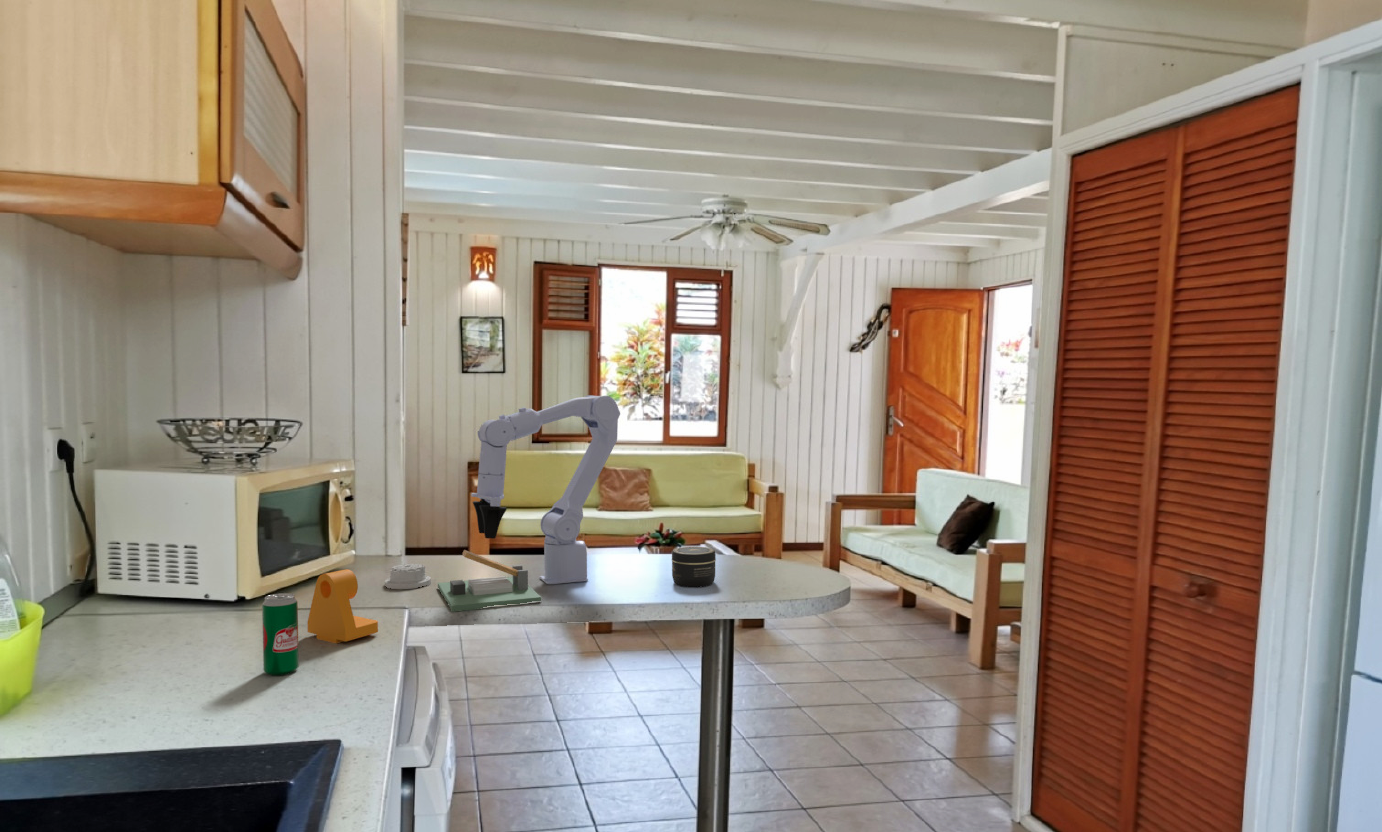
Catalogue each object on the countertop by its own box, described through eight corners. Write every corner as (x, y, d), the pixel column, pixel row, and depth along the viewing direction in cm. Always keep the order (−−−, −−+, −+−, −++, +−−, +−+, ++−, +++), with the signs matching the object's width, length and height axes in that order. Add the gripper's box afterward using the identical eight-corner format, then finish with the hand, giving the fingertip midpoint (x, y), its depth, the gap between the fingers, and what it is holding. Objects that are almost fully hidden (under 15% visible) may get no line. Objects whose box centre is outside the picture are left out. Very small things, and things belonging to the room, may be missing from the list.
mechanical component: (378, 590, 196) (423, 590, 196) (377, 571, 196) (422, 571, 196) (393, 580, 206) (436, 580, 206) (393, 561, 206) (436, 561, 206)
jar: (664, 581, 204) (664, 548, 204) (702, 577, 208) (702, 544, 208) (683, 590, 195) (683, 555, 195) (723, 585, 200) (723, 551, 199)
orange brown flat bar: (519, 576, 195) (522, 570, 195) (523, 580, 192) (526, 574, 192) (461, 555, 190) (464, 548, 190) (464, 558, 187) (467, 552, 187)
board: (518, 581, 204) (518, 558, 204) (541, 602, 184) (540, 577, 184) (437, 588, 197) (437, 564, 197) (451, 611, 177) (451, 585, 177)
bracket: (380, 636, 161) (379, 570, 160) (345, 646, 154) (344, 577, 154) (342, 627, 166) (341, 563, 166) (307, 636, 160) (306, 570, 160)
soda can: (276, 678, 137) (274, 601, 137) (256, 673, 140) (255, 597, 139) (305, 669, 141) (304, 594, 141) (286, 664, 144) (284, 591, 144)
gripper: (468, 470, 201) (463, 530, 201) (478, 476, 188) (473, 540, 188) (499, 472, 204) (494, 531, 204) (512, 477, 191) (507, 540, 191)
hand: (487, 535), depth 196 cm, fingers open, 7 cm apart
